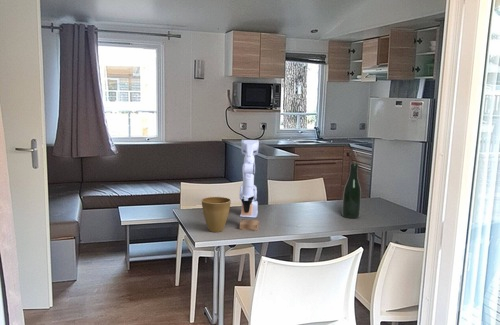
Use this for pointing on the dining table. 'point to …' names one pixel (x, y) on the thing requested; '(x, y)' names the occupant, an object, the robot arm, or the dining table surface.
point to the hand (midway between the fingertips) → (247, 211)
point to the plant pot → (216, 212)
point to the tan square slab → (249, 224)
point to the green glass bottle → (352, 194)
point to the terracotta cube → (249, 211)
